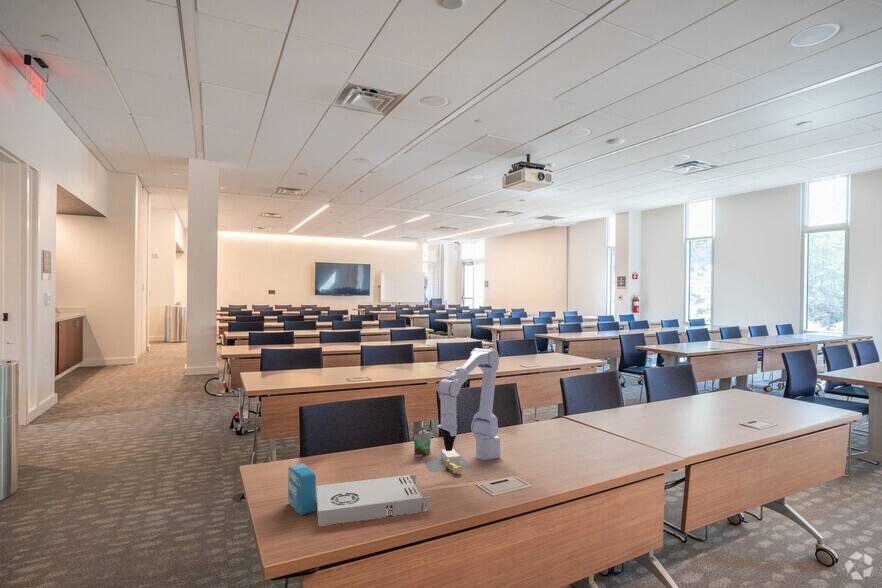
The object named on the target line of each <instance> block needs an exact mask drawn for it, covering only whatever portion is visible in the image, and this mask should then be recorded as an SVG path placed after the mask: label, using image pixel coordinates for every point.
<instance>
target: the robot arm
mask: <svg viewBox="0 0 882 588" xmlns="http://www.w3.org/2000/svg"><path fill="white" fill-rule="evenodd" d="M469 354H470V356H469V358H468V359H467V360H466V362H464V364H463V365H462V366H459V367H455V368H454V370H453V371H452V372H451V373H450V374H449V375H448V376H447V378H442V379H441V380H440V381H439V382H438V384H437V387H436V391H437V393H438V397H439V400H440V424H438V425H437V428H438V429H440V430H439V431H440V434H441V437H442V441H443V444H444V449H446V451H452V449H454V448H453V447H454V444H455V440H456V437H457V436H458V432H457V428H458V424H457V396H458V395H459V394H460V390H461V388H462V386H463V384H464V383H465V382H467V381H468V379H469V376H470V375H469V374H470V373H471V372H472V371H474V369H476V368H477V367H478V368H479V369H480V370H481V371H482V373H483V374H482V381H481V382H482V383H481V391H480V392H481V393H480V398H479V399H480V400H479V408H478V409H479V410H478V411H477V412H476V413H474V414H473V419H472V422H471V425H470V429H471V433H472V434H473V436H474V437H475V458H476V459H478V460H482V461H483V460H484V461H485V460H486V461H487V460H492V459H498V458H499V459H501V441H500V437H499V436H498V432H499V425H498V421H499V420H498V419H499V418H498V417H497V416H496V415H495V414H494V413H493V410H494V409H493V407H494V398H495V387H496V378H497V377H496V376H497V371H498V370H499V362H500V354H499V353H498V351H497V350H496V349H491V348H490V349H488V348H479V347H475V348H473V349H472V351H470V353H469Z"/></svg>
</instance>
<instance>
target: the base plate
mask: <svg viewBox="0 0 882 588" xmlns="http://www.w3.org/2000/svg"><path fill="white" fill-rule="evenodd" d="M421 460H422V462H423V463H424V465H425V466H426V468H427V469H428V471H430V473H433V472H440V471H451V470H450V469H446V468H445V463H444V462H443V460H442V459H441V456H437V457H436V456H435V457H426V458H421ZM458 466H459V465H458ZM460 466H462V469H466V468H468V469H469V468H472V466H471V465H470V464H469V462H468V461H467V460H465V458H464V457H463V456H462V455H460Z"/></svg>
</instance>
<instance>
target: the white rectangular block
mask: <svg viewBox="0 0 882 588" xmlns="http://www.w3.org/2000/svg"><path fill="white" fill-rule="evenodd" d="M460 456H461V455H460V454H459V453H458V452H457V451H456V450H455V449H454V448H453V449H452V451H446V449H445V448H443V449H440V457H441V459H442V460H443V462H444V463H445V460H446V459H450V460H451V462H452V463H454V464H456V465H457V466H458V465H460Z"/></svg>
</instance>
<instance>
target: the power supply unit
mask: <svg viewBox="0 0 882 588" xmlns="http://www.w3.org/2000/svg"><path fill="white" fill-rule="evenodd" d="M416 484H417V475H416V474H415V473H413V474H408V475H407V474H405V475H398V476H389V477H380V478H379V477H378V478H372V479H370V478H369V479H365V480H364V479H363V480H355V481H354V480H353V481H345V482H344V481H343V482H337V483H329V484H328V483H327V484H320V485H316V503H317V504H316V513H317V514H316V515H317V517H318V518H317V527H318V526H321V525H329V524H336V523H343V522H350V523H353V522H352V521H357V522H361V521H360V520H364V521H368V520H367V519H371V520H375V519H374V518H378V519H382V518H381V517H385V518H387V517H388V516H390V514H391V511H392V516H393V517H397V516H396V515H400V516H404V515H403V514H407V515H412V514H413V513H414V514H419V513H418V512H421V510H423V511H422V512H423V513H425V512H427V511H428V512H431V497H430V496H423V494H422V492H421V491H420V490H419V488H418V486H417V485H416ZM387 508H388V516H387V517H386V509H387ZM391 508H392V510H391ZM425 509H426V511H425ZM422 512H421V513H422ZM392 516H390V517H392ZM343 524H344V523H343ZM336 525H337V524H336ZM329 526H330V525H329Z"/></svg>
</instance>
